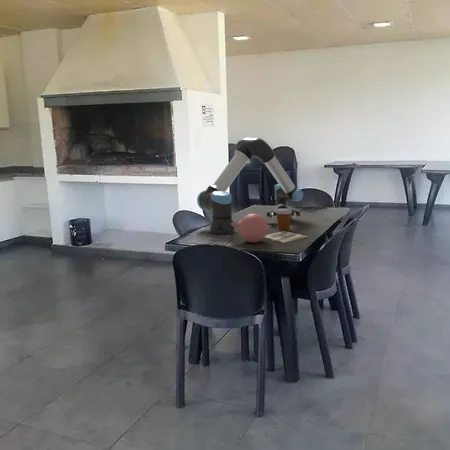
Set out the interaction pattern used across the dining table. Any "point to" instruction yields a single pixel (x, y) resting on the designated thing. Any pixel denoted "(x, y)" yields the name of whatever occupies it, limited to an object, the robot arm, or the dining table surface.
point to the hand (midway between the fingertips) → (283, 216)
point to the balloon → (252, 227)
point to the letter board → (284, 236)
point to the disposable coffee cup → (283, 218)
